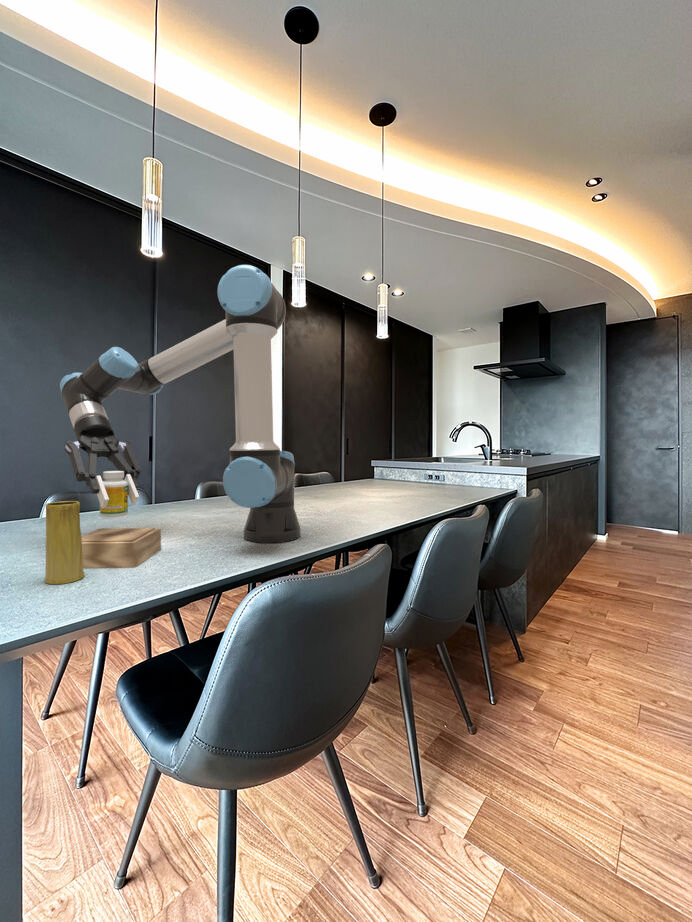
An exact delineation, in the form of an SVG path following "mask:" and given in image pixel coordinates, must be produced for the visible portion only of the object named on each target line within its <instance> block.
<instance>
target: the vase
mask: <svg viewBox="0 0 692 922" xmlns="http://www.w3.org/2000/svg"><path fill="white" fill-rule="evenodd" d="M80 508H81V502H80V501H77V500H64V501H52V502H48V503H46V504H45V576H44V582H45V583H46V585H47V584H48V585H63V584H71V583H75V582H78V581H79V580H82V579H83V578H84V577H85V571H84V568H83V555H82V537H81V536H82V531H81V513H80Z"/></svg>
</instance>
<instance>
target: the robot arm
mask: <svg viewBox="0 0 692 922" xmlns="http://www.w3.org/2000/svg"><path fill="white" fill-rule="evenodd" d="M217 298H218V301H219V303H220V306H221V307H222V309H223V310H224V311H225V319H222V320H221V321H219V322H217V323H216V324H213V325H212V326H209V327H208V328H206V329H203V330H202V331H200V332H198V333H196V334H195V335H192V336H190V337H189V338H186V339H185V340H183V341H181V342H179V343H177V344H175V345H174V346H171V347H170V348H167V349H166V350H163V351H162V352H159V353H158V354H156V355H154V356H152V357H150V358H148V359H145V360H144V361H142V362H141V363H138V361H137V360H136V359H135V357H133V356H132V354H130V353H129V352H128V351H126V350H125V349H124V348H121V347H119V346H113V347H110V348H109V349H108V350H107V351H105V352H104V353H103V354H100V356H99V357H98V358H97V359H96V360H95V361H94V362H93V363H92V364H91V365H90V366H88V367H87V369H85V371H83V372H72V373H70V374H67V375H65V376H64V377H62V379H60V382H59V389H60V397H61V398H62V400H63V402H64V405H65V407H66V410H67V413H68V416H69V419H70V422H71V425H72V428H73V431H74V434H75V437H76V439H77V441H73V440H71V439H70V440H67V441H66V444H65V447H64V451H65V452H66V454H67V455H68V456H69V458H70V462H71V466H72V469H73V473H74V476H75V479H76V482H79V483H82V482H85V485H86V486H88V487H89V489H90V493H92V494H93V495H94V494H96V496H97V498H98V502H99V505H100V504H101V507H102V508H106V505H107V503H108V501H109V498H108V495H107V492H106V490H105V487H104V484H103V481H104V480H103V479H102V477H101V476H102V475H97V460H98V459H97V458H101V457H103V458H106V459H107V460H108V461H109V462H111V463H112V464H113V465H114V466H115V468H116V469H117V471H124V478H123V480H124V481H126V482H127V484H128V499H129V501H130V503H131V505H132V506H133V505H136V504H137V503H138V500H139V498H140V495H139V493H138V488H139V483H138V480H137V479H139V478H140V475H141V473H142V471H143V470H142V468H141V466H140V463H139V460H138V459H137V457H136V455H135V453H134V450H133V448H132V445H133V442H132V441H130V440H126V442H123V441H120V440H119V439H118V438H117V437H116V436H115V432H114V429H113V427H112V424H111V422H110V419H109V417H108V415H107V412H106V410H105V406H104V404H103V403H104V401H105V400H107V398H109V397H110V396H112V394H113V393H115V392H116V391H117V390H122V391H126V392H127V391H128V392H132V393H135V394H136V393H138V394H141V395H146V396H148V395H150V396H152V395H156V394H159V393H160V392H161V391H162V390H163V388H164V386H165V384H167V383H170V382H171V381H173V380H176V379H177V378H179V377H182V376H184V375H185V374H187V373H189V372H191V371H193V370H195V369H198V368H199V367H201V366H203V365H205V364H207V363H209V362H212V361H213V360H215V359H217V358H219V357H222V356H224V355H225V354H227V353H229V352H231V351H233V371H234V372H233V374H234V375H233V376H234V377H233V378H234V379H233V382H234V417H235V442H234V444H233V445H232V446H231V447H230V448H229V464H228V466H227V467H226V468H225V470H224V472H223V474H222V475H223V477H222V485H223V489H224V492H225V494H226V495H227V497H228V498H229V500H231V501H232V502H233V503H235V504H236V505H238V506H240V507H242V508H247V509H248V508H249V512H248V514H247V518H246V521H245V525H244V528H243V539H244V540H246V541H249V542H252V543H253V542H254V543H264V544H265V543H266V544H267V543H268V544H269V543H271V542H276V543H283V542H282V541H285V542H289V541H288V540H291V541H294V540H293V539H295V540H297V539H299V538H300V537H301V536H300V535H301V533H302V532H301V525H300V521H299V519H298V516H297V511H296V509H295V466H296V463H295V458H294V457H295V456H294V453H292V452H290V451H286V450H281V448H280V446H278V444H277V443H275V442H274V418H273V417H274V416H273V415H274V414H273V413H274V410H273V408H274V407H273V370H272V367H273V366H272V364H273V363H272V339H273V338H274V337H276V335H277V334H278V330H279V329H280V328H281V326H282V325H283V323H284V322H285V318H286V315H287V307H286V303H285V300H284V297H283V296H282V294H281V293H280V292H279V291H278V290H277V288H276V287H275V285H274V284H273V283H272V281H271V279H270V277H269V276H268V275H267V273H264V272H263V271H262V270H261V269H259V268H258V267H256V266H253V265H251V264H239V265H236V266H234V267H231V268H230V269H229V270H227V271H226V273H224V274H223V275H222V277H221V278H220V280H219V282H218V285H217ZM80 449H81V450H82V451H83V452H84V453H87V471H86V470H85V466H84V462H83V460H82V459H83V458H82V457H81V453H80ZM119 450H120V452H121V453H122V454H123V456H122V455H121V453H120V452H119ZM298 537H299V538H298ZM296 538H297V539H296Z"/></svg>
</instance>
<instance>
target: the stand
mask: <svg viewBox="0 0 692 922" xmlns="http://www.w3.org/2000/svg"><path fill="white" fill-rule="evenodd" d="M161 531H162V530H161V528H156V527H151V528H150V527H147V528H146V527H144V528H143V527H141V528H140V527H135V528H134V527H133V528H132V527H130V528H129V527H126V528H124V527H123V528H122V527H121V528H118V527H117V528H116V527H115V528H113V527H112V528H108V527H107V528H98V529H96V530H94V531H91V532H88V533H85V534H83V535H81V537H82V555H83V569H101V568H107V569H108V568H110V569H111V568H137V567H138V566H139V565H141V564H142V563H143V562H145V561H147V560H148V559H149V558H150V557H152V556H153V555H155V554H157V553H158V552H160V550H162V541H161V540H162V538H161V537H162V536H161V535H162V532H161Z"/></svg>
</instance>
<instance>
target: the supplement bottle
mask: <svg viewBox="0 0 692 922" xmlns="http://www.w3.org/2000/svg"><path fill="white" fill-rule="evenodd" d="M102 478H103V479H104V480H102V481H103V484H104V487H105V490H106V492H107V495H108V498H109V501H108V503H107V505H106V508H102V507H101V504H100V503H99V516H101V517H103V518H119V517H125V516H126V515H128V512H129V501H128V500H129V496H128V484H127V482H126V481H124V479H125V478H124V471H119V470H107V471H106V470H105V471H102Z"/></svg>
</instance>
